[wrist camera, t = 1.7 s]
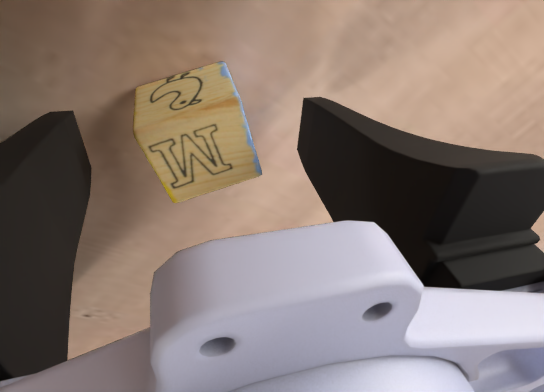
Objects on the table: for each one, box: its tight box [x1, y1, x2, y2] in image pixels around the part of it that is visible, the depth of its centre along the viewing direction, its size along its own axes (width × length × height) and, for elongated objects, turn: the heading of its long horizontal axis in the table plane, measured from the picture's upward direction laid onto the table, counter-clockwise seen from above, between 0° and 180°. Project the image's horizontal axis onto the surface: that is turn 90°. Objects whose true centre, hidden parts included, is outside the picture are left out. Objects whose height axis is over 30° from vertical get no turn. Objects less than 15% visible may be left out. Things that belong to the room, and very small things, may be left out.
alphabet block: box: [133, 61, 262, 203], centre depth 12 cm, size 3×3×3 cm
